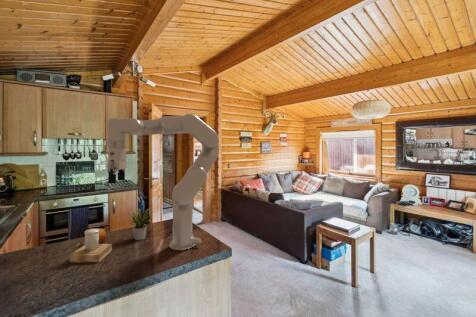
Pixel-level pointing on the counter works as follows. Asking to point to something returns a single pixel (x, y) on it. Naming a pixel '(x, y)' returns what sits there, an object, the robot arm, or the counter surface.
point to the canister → (91, 239)
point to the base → (90, 254)
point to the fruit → (102, 236)
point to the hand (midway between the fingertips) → (116, 181)
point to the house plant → (140, 225)
